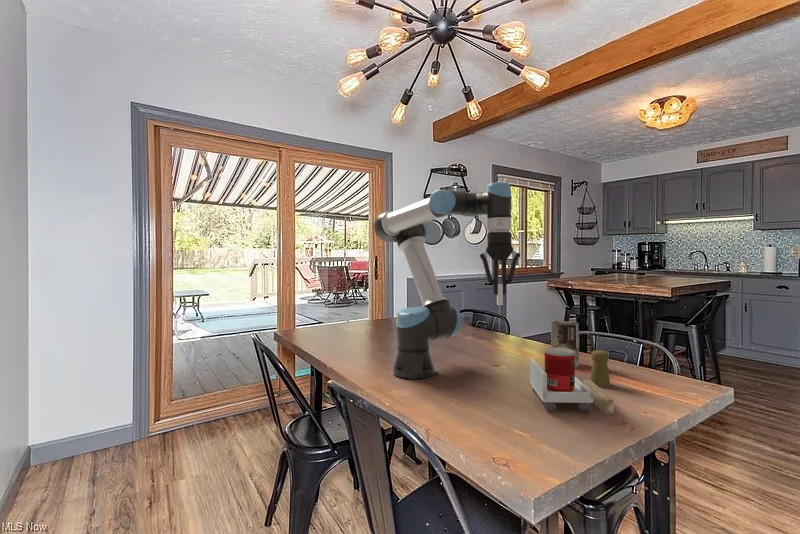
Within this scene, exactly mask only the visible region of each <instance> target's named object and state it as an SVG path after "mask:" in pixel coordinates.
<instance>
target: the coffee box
mask: <svg viewBox="0 0 800 534" xmlns="http://www.w3.org/2000/svg"><path fill="white" fill-rule="evenodd" d="M579 325H580V323H579V322H577V321H565V320H563V321H562V320H554V321H552V323H550V338H551V339H550V340H551V344H550V345H551V347H550V348H552V347H559V348H567V349H571V350H573V351H574V352H575V369H577V368H578V367H579V365H580V346H579V345H580V336H579V333H580V332H579V328H580V327H579Z"/></svg>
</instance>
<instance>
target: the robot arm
mask: <svg viewBox="0 0 800 534" xmlns="http://www.w3.org/2000/svg"><path fill="white" fill-rule="evenodd" d="M512 196H513V195H512V187H511V184H510V183H509V182H504V181H502V182H501V181H500V182H499V181H498V182H497V181H496V182H491V183H487V187H486V191H483V192H482V191H481V192H465V191H459V190H458V191H457V190H451V189H436V190H434V191H433V192H432V193H431V194H430V196H429V197H428V198H425V199H422V200H420V201H417V202H414V203H413V204H412V203H411V204H410V205H407V206H405V207H403V208H400V209H398V210H395V211H393V210H388V211H385V212H383V213H380V214H379V215H378V216H377V217H376V218H375V220H374V223H373V231H374V233H375V235H376V237H377V238H378V239H379V240H381V241H384V242H387V243H396V244H397V246H398V250H400V251H402V252H404V253H403V254H404V255H405V258H406V262H407V264H408V267H409V269H410V273H411V276H412V278H413V281H414V283H415V284H414V285H415V287H416V289H417V292H418V295H419V298H420V301H421V304H422V305H421V306H417V305H416V306H411V307H406V308H404V309H401V310H399V311H398V312H397V315H396V325H395V326H396V339H397V340H396V342H397V343H396V347H397V348H396V349H397V352H396V355H395V359H394V362H393V364H392V374H393V375H394V376H395V375H396V376H395V377H397V376H399V377H398V378H400V377H402V378H401V379H405V378H408V379H407V380H419V379H418V378H421V379H427V378H430V377H431V376H433V375H434V374H435V371H436V370H435V364H434V362H433V361H434V360H433V358H432V355H431V353H430V342H432V341H436V340H443V339H449V338H450V337H453V336H456V335H457V334H458V333H460V330H461V327H462V323H463V322H462V321H463V320H462V314H461V312H460V310H459V308H456V306H453V305H451V303H450V301H449V298H446V297H444V296H443V293H442V290H441V287H440V286H439V285H440V284H439V283H438V279H437V277H436V274H435V272H434V269H433V266H432V264H431V261H430V258H429V255H428V253H427V250H426V248H425V245H424V244H425V243H426V237H427V235H428V233H427V231H428V226H427V223H428V222H431V221H433V220H438V219H440V218H444V217H446V216H450V215H456V216H457V215H458V216H463V217H475V216H477V217H478V216H483V215H486V217H487V218H486V220H487V221H486V222H487V225H486V226H487V227H486V229H487V231H488V233H487V235H486V236H487V241H486V244H487V245H486V248H485V250H484V251H483V252H482V253H479V255H478V256H479V258H480V259H481V260H482V265H483V268H484V272H485V276H486V280H487V282H488V283H489V284H492V285H493V295H496V305H497V306H504V300H503V299H504V296H503V295H506V294H507V285H508V284H510V283H512V282H513V278H514V274H515V269H516V267H517V262H518V260H519V258H520V256H521V253H520V252H517V251H516V250H514V247H513V244H512V242H513V241H512V232H511V230H512V198H513V197H512ZM488 256H489V258H491V260H492V273H491V271H490V265H489V261H488V259H487V258H488ZM510 256H511V262H510V265H509V270H508V272H507V260H508V259H509V257H510ZM499 261H500V275H501V276H500V281H501V282H500V284H499Z"/></svg>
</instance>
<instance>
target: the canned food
mask: <svg viewBox="0 0 800 534" xmlns="http://www.w3.org/2000/svg"><path fill="white" fill-rule="evenodd" d="M575 369H576V368H575V352H574V351H573V350H571V349H567V348H559V347H552V348H551V347H547V348H545V349H544V372H545V373H546V374H547V389H549V390H551V391H554V392H572V391H573V390H574V388H575V377H576V376H575V375H576V370H575Z"/></svg>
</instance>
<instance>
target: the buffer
mask: <svg viewBox="0 0 800 534" xmlns="http://www.w3.org/2000/svg"><path fill="white" fill-rule="evenodd" d="M583 384H584V385H585V386H586V387H587V388H588V389H589V390H590V391H591V392H592V393H593V403H592V404H594V405H596V407H598V409H600V411H601V412H603V413H604V414H605V415H606V416H607V415H608V416H611V415H612V416H614V415H615V414H614V413H615V412H614V411H615V409H614V406H615V404H614V403H615V401H614V399H613V398H612V397H611V396H610V395H609V394H607V393H606V392H605V391H604V390H603V389H602V388H601V387H598V386H597V385H596V384H594V383H593V382H592V381H591V380H590V379H583Z"/></svg>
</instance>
